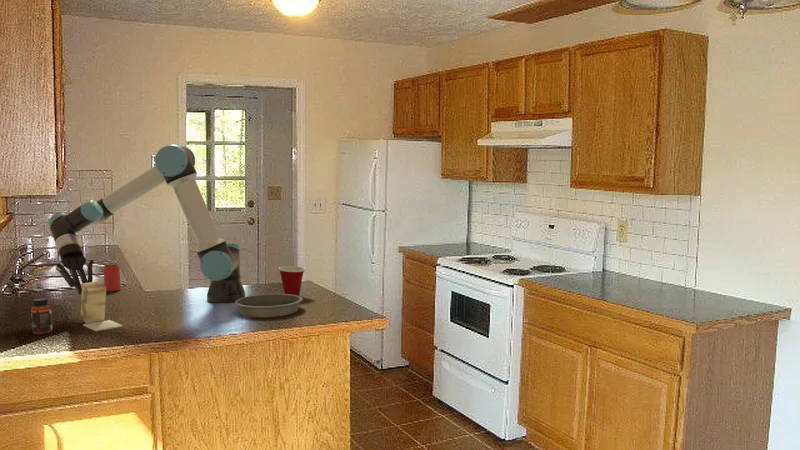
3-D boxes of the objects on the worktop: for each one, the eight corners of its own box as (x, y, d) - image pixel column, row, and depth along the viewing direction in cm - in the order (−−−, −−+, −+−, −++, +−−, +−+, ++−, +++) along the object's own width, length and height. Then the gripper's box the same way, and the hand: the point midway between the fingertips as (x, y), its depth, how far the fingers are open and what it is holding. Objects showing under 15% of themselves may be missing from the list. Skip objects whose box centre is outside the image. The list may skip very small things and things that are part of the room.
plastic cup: (298, 299, 270) (297, 270, 269) (274, 298, 273) (273, 269, 272) (310, 294, 280) (309, 266, 279) (287, 293, 284) (286, 265, 282)
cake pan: (307, 315, 242) (307, 303, 241) (237, 321, 235) (236, 308, 235) (297, 302, 265) (297, 291, 265) (233, 307, 258) (233, 295, 258)
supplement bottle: (57, 331, 224) (55, 297, 222) (42, 335, 218) (40, 301, 217) (43, 330, 225) (41, 296, 224) (28, 334, 220) (25, 300, 219)
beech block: (80, 316, 237) (82, 283, 233) (98, 313, 241) (100, 281, 237) (86, 324, 233) (88, 290, 229) (104, 321, 237) (106, 288, 233)
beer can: (101, 291, 295) (99, 264, 294) (112, 288, 301) (111, 262, 300) (112, 292, 292) (111, 264, 291) (124, 289, 299) (122, 262, 297)
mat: (82, 325, 231) (82, 324, 231) (109, 321, 237) (109, 319, 237) (95, 331, 222) (95, 330, 222) (122, 326, 229) (122, 325, 229)
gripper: (85, 253, 255) (104, 303, 244) (48, 257, 246) (65, 309, 235) (89, 241, 250) (108, 291, 240) (51, 244, 241) (69, 296, 231)
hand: (87, 300), depth 237 cm, fingers closed
